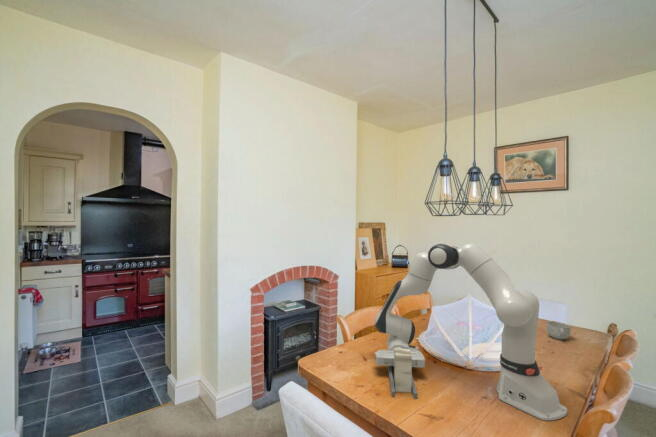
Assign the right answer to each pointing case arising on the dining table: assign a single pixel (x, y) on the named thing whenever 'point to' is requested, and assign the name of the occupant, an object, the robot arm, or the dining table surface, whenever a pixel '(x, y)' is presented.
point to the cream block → (402, 370)
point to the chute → (393, 383)
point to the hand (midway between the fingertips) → (401, 367)
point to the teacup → (558, 330)
